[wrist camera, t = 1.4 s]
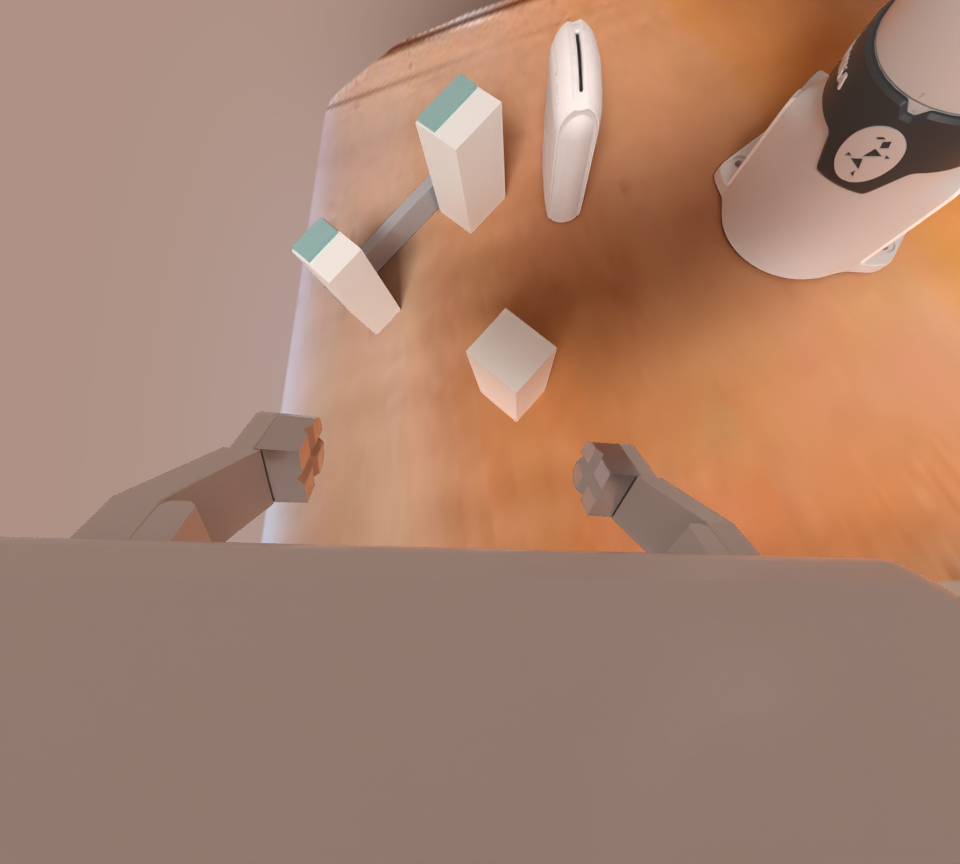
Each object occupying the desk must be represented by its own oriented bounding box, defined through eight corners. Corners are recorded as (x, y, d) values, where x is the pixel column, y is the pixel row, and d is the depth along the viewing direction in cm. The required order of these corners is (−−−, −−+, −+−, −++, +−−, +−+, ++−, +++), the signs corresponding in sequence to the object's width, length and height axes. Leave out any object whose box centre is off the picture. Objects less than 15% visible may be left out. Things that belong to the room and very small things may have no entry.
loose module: (507, 360, 36) (504, 306, 26) (545, 390, 36) (557, 347, 25) (479, 391, 36) (464, 350, 25) (516, 422, 35) (516, 393, 24)
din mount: (463, 168, 41) (445, 62, 31) (505, 197, 40) (501, 96, 29) (337, 301, 40) (276, 236, 30) (376, 335, 39) (326, 280, 28)
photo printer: (539, 149, 40) (549, 3, 28) (576, 144, 40) (602, -6, 28) (543, 226, 39) (555, 106, 26) (582, 222, 38) (613, 99, 26)
